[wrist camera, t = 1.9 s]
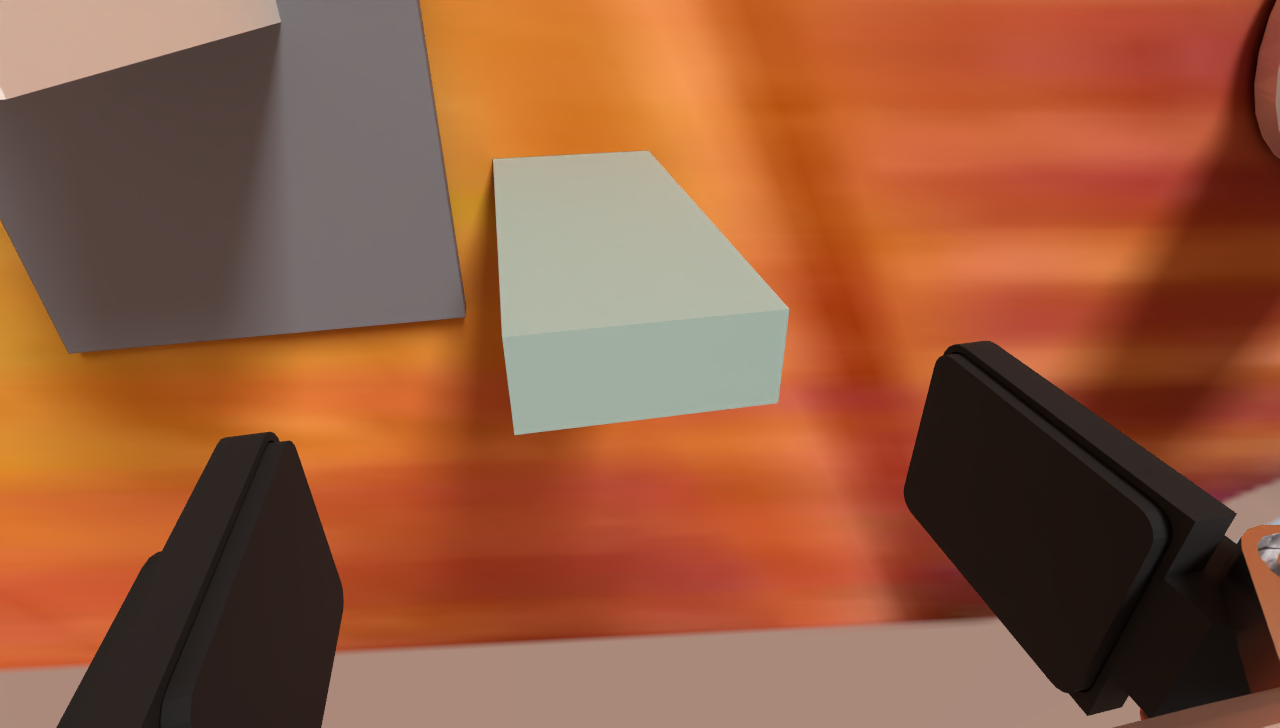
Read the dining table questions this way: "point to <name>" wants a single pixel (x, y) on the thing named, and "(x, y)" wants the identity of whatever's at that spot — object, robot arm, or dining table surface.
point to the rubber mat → (239, 185)
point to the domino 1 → (109, 35)
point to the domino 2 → (624, 297)
